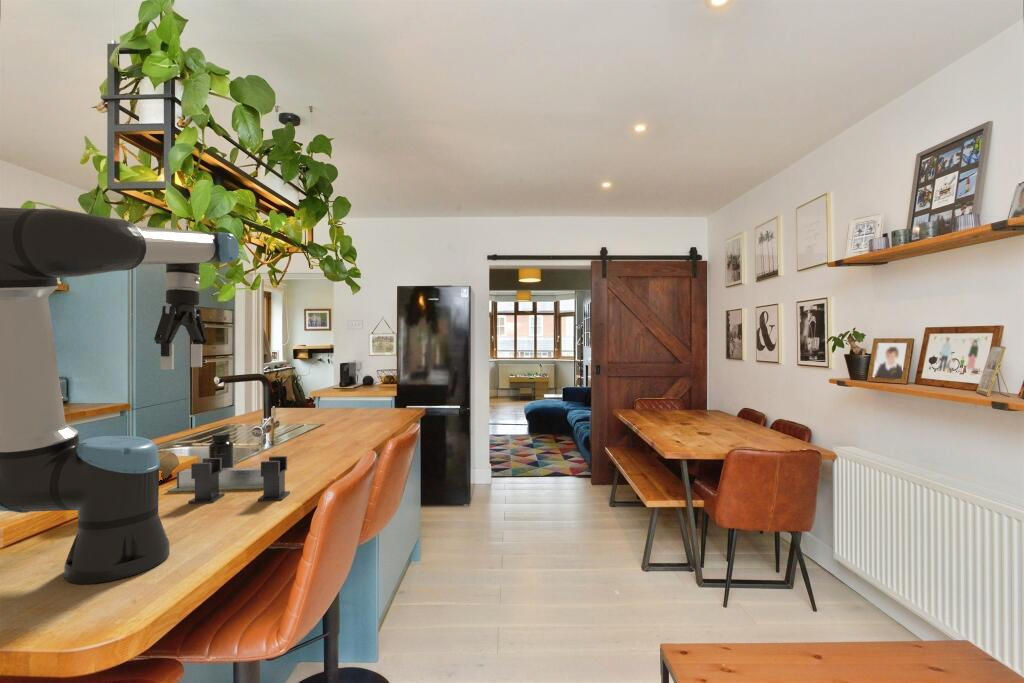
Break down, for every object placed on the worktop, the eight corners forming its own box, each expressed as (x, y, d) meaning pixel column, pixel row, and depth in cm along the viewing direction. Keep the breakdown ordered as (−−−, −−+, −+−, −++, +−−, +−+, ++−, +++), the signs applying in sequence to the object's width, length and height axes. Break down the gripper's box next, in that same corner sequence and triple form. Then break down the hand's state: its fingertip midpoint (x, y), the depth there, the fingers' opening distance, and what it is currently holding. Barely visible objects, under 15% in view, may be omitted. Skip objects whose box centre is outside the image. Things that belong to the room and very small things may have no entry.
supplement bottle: (212, 469, 158) (212, 432, 158) (235, 467, 160) (235, 431, 160) (205, 474, 151) (205, 436, 151) (230, 472, 153) (230, 435, 153)
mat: (272, 488, 137) (272, 486, 137) (167, 491, 134) (167, 490, 134) (282, 481, 144) (282, 479, 144) (182, 484, 141) (182, 482, 141)
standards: (281, 500, 126) (281, 461, 126) (188, 503, 123) (188, 464, 123) (290, 493, 132) (290, 456, 132) (201, 496, 130) (201, 458, 130)
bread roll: (185, 471, 155) (185, 447, 155) (168, 484, 141) (168, 457, 141) (150, 474, 152) (150, 449, 152) (129, 487, 138) (129, 460, 138)
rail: (270, 485, 138) (270, 469, 138) (176, 488, 135) (176, 472, 135) (274, 481, 142) (274, 466, 142) (183, 484, 139) (183, 469, 139)
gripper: (169, 284, 118) (169, 370, 118) (220, 294, 143) (220, 366, 143) (137, 284, 117) (136, 370, 117) (193, 294, 142) (193, 366, 142)
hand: (182, 368), depth 130 cm, fingers open, 13 cm apart
